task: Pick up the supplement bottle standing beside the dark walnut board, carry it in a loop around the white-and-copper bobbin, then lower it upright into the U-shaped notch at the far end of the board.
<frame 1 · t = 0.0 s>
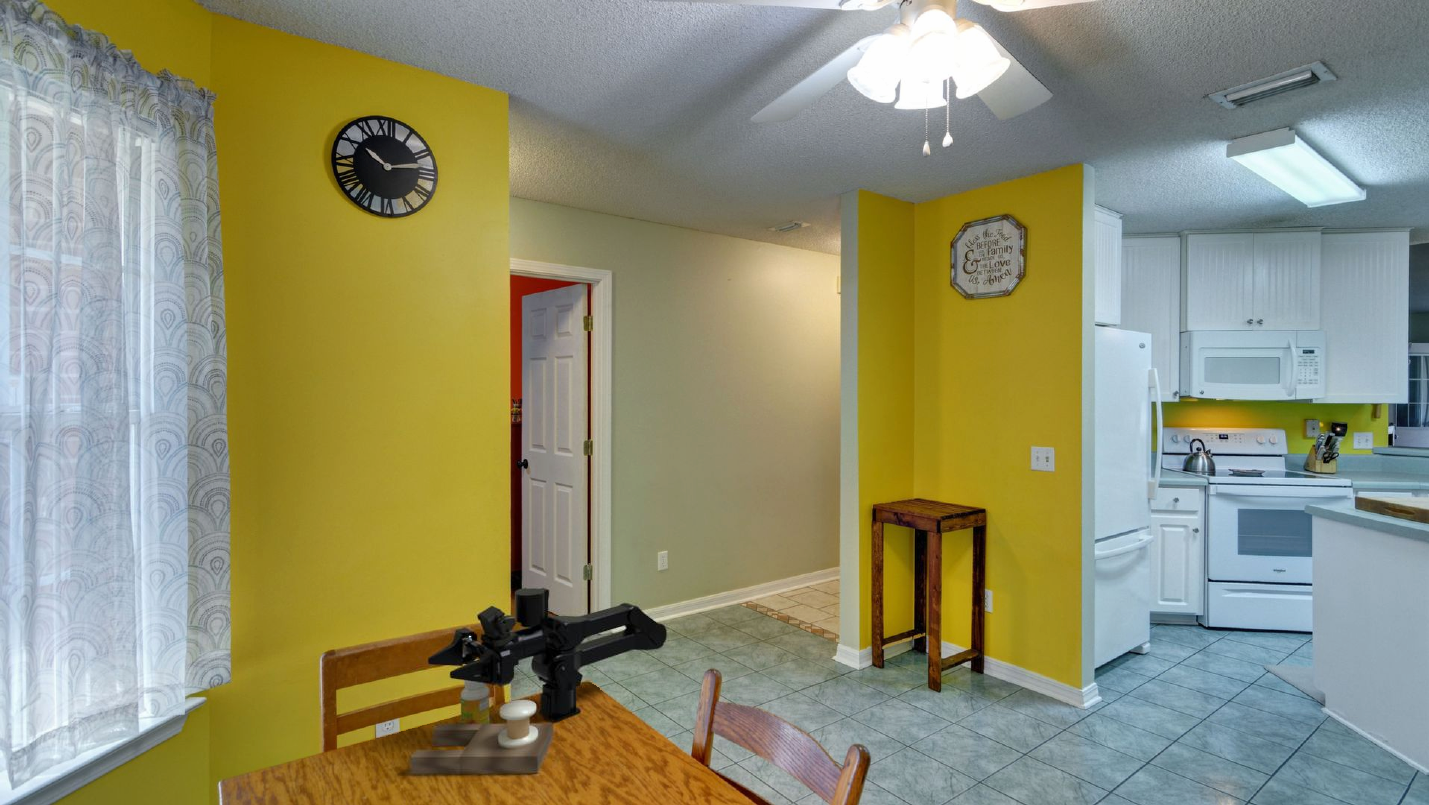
hand: (438, 668, 123), 17 cm above the table, tool horizontal, fingers open, 9 cm apart
supplement bottle: (475, 727, 136), on the table
notched board: (485, 756, 124), on the table
bobbin: (518, 739, 124), resting on notched board
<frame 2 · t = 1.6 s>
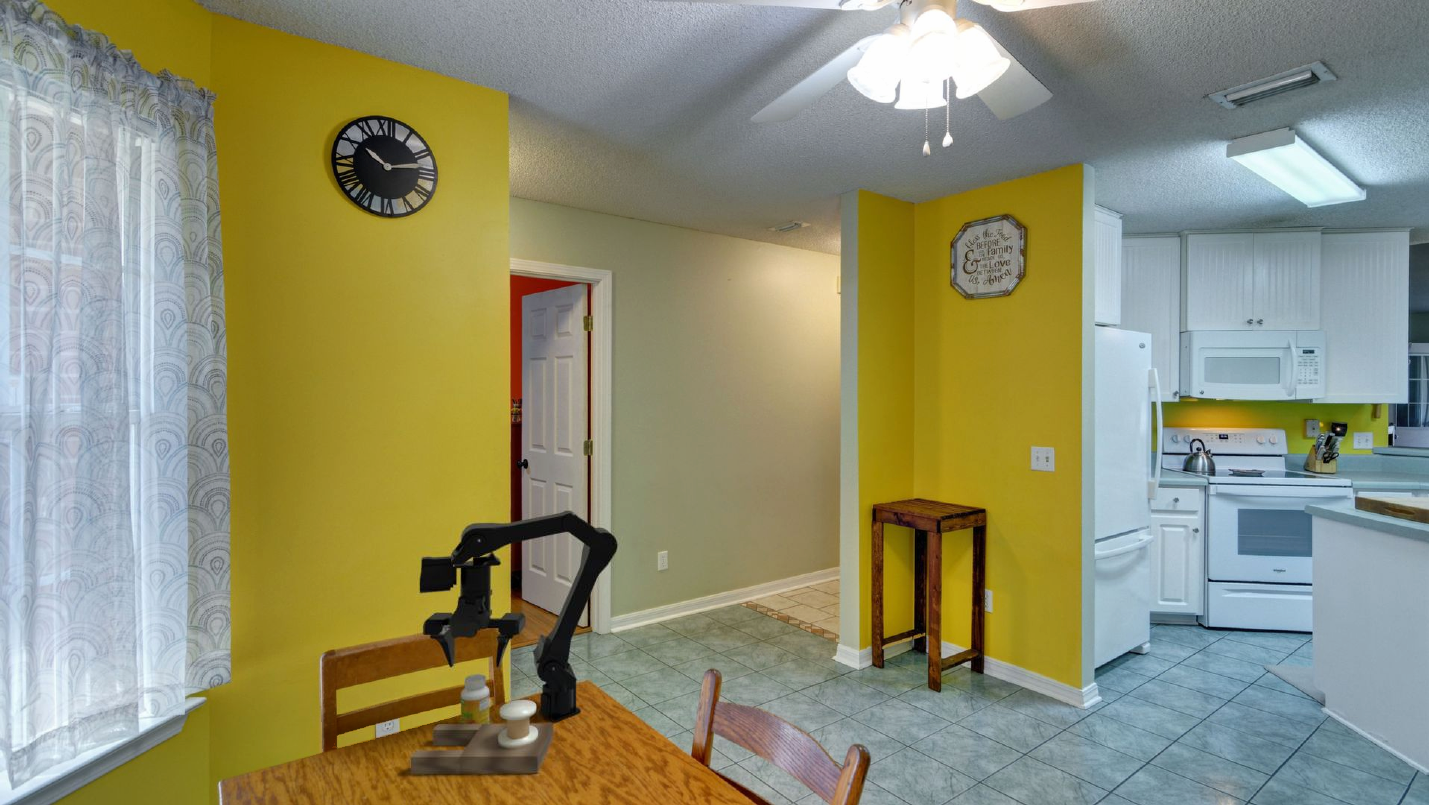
hand: (475, 666, 136), 12 cm above the table, tool pointing down, fingers open, 9 cm apart
nothing on the table moved.
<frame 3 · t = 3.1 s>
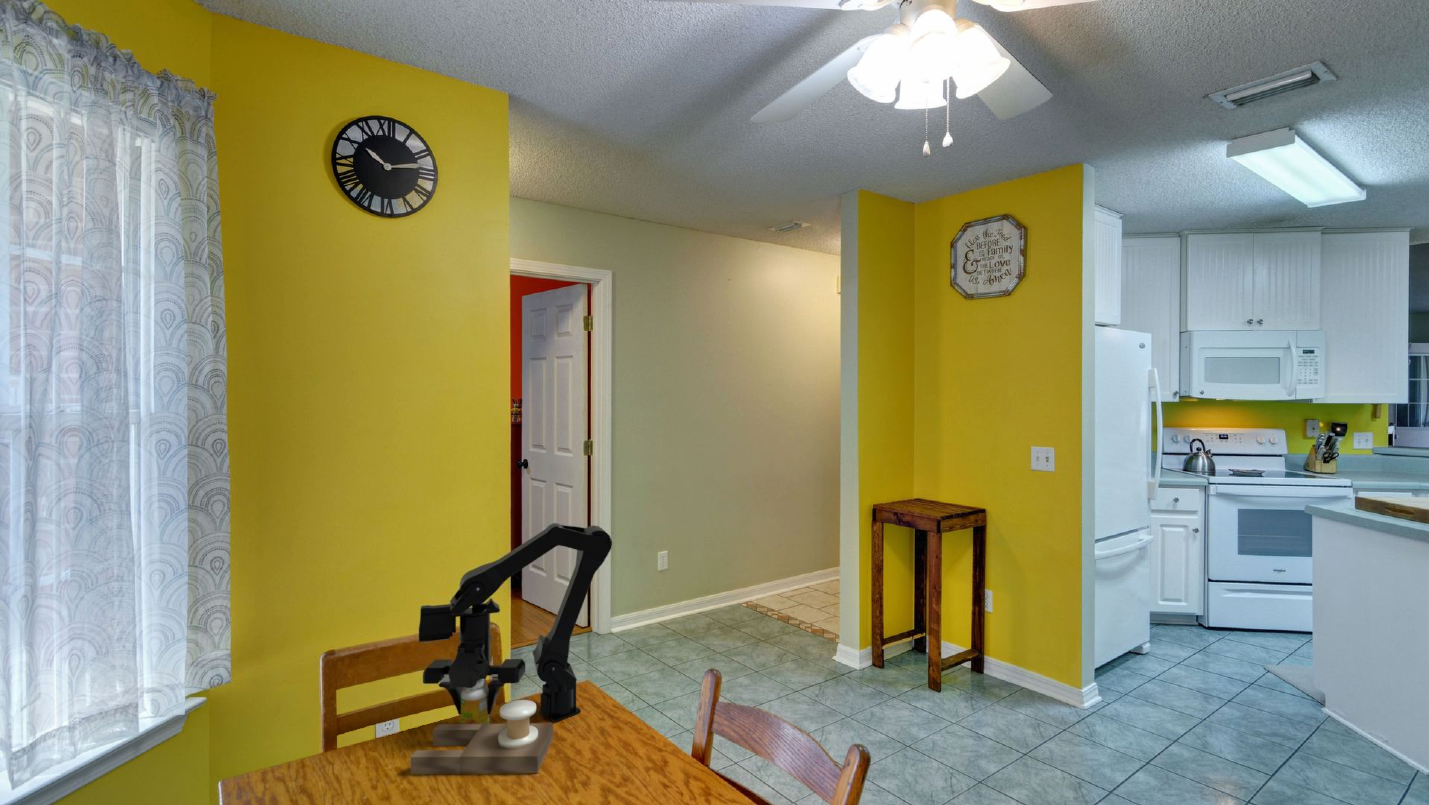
hand: (475, 713, 136), 3 cm above the table, tool pointing down, fingers closed on supplement bottle, 5 cm apart
supplement bottle: (475, 727, 136), on the table, touching gripper
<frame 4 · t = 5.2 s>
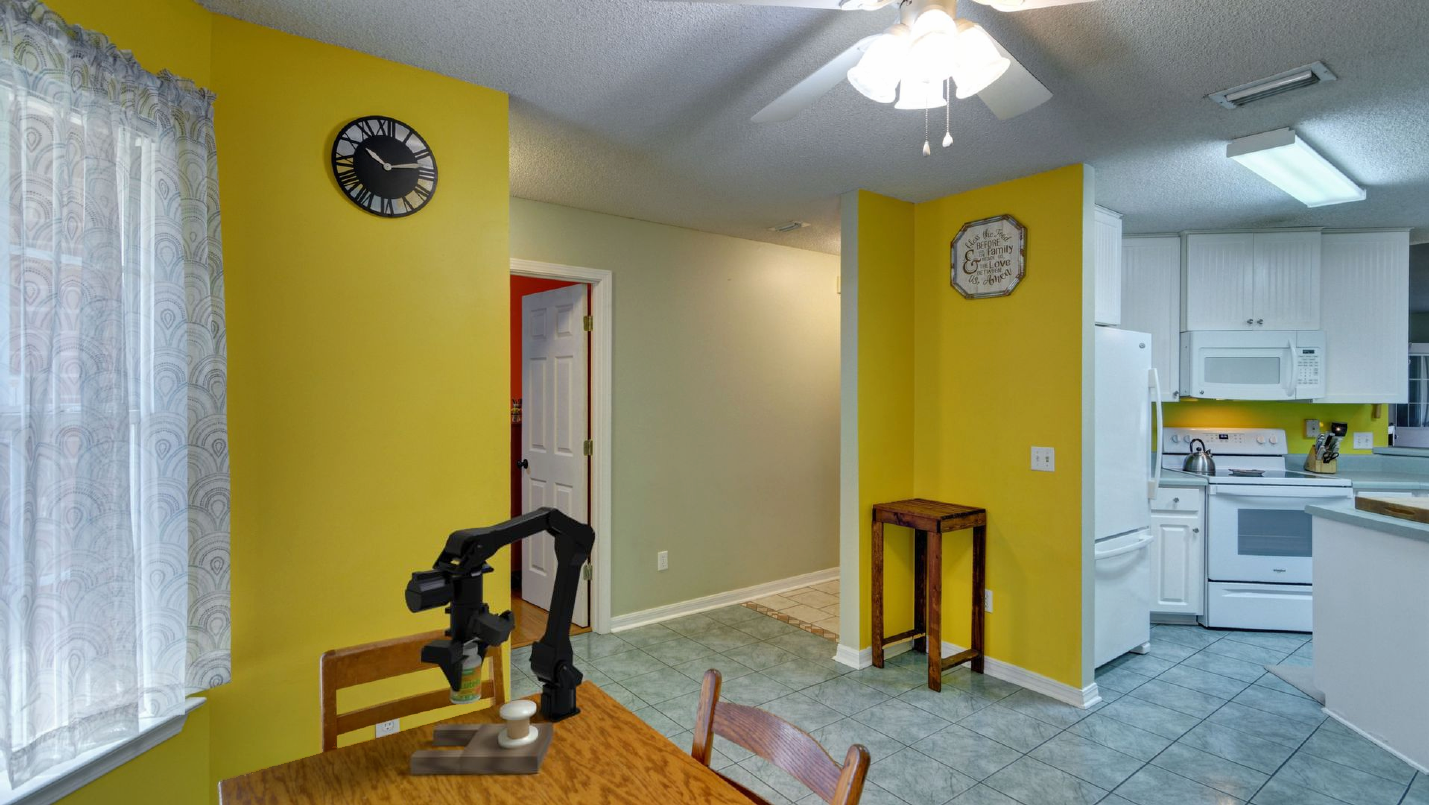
hand: (466, 685, 125), 13 cm above the table, tool pointing down, fingers closed on supplement bottle, 5 cm apart
supplement bottle: (465, 700, 125), point 10 cm above the table, touching gripper
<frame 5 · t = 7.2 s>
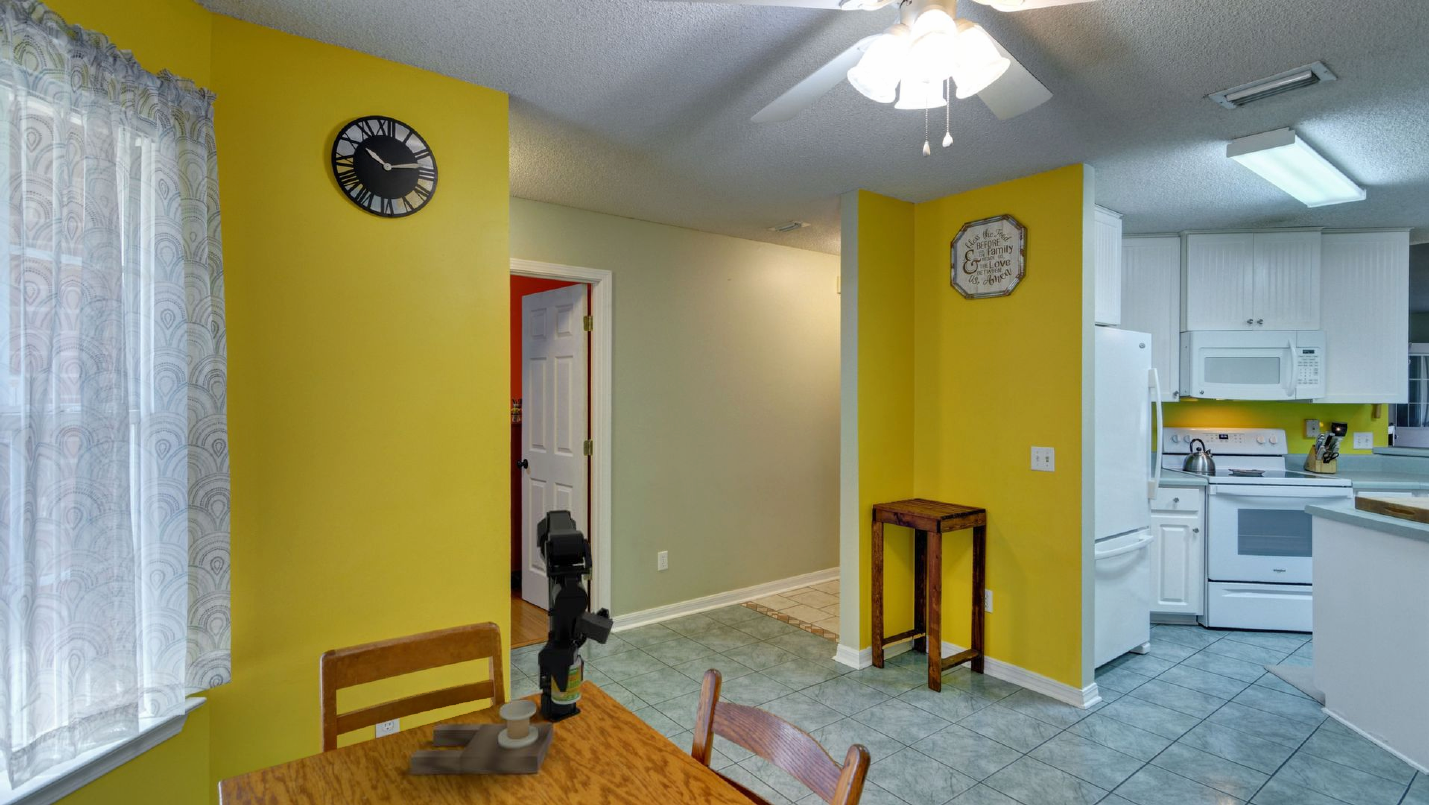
hand: (566, 685, 126), 12 cm above the table, tool pointing down, fingers closed on supplement bottle, 5 cm apart
supplement bottle: (566, 699, 126), point 10 cm above the table, touching gripper
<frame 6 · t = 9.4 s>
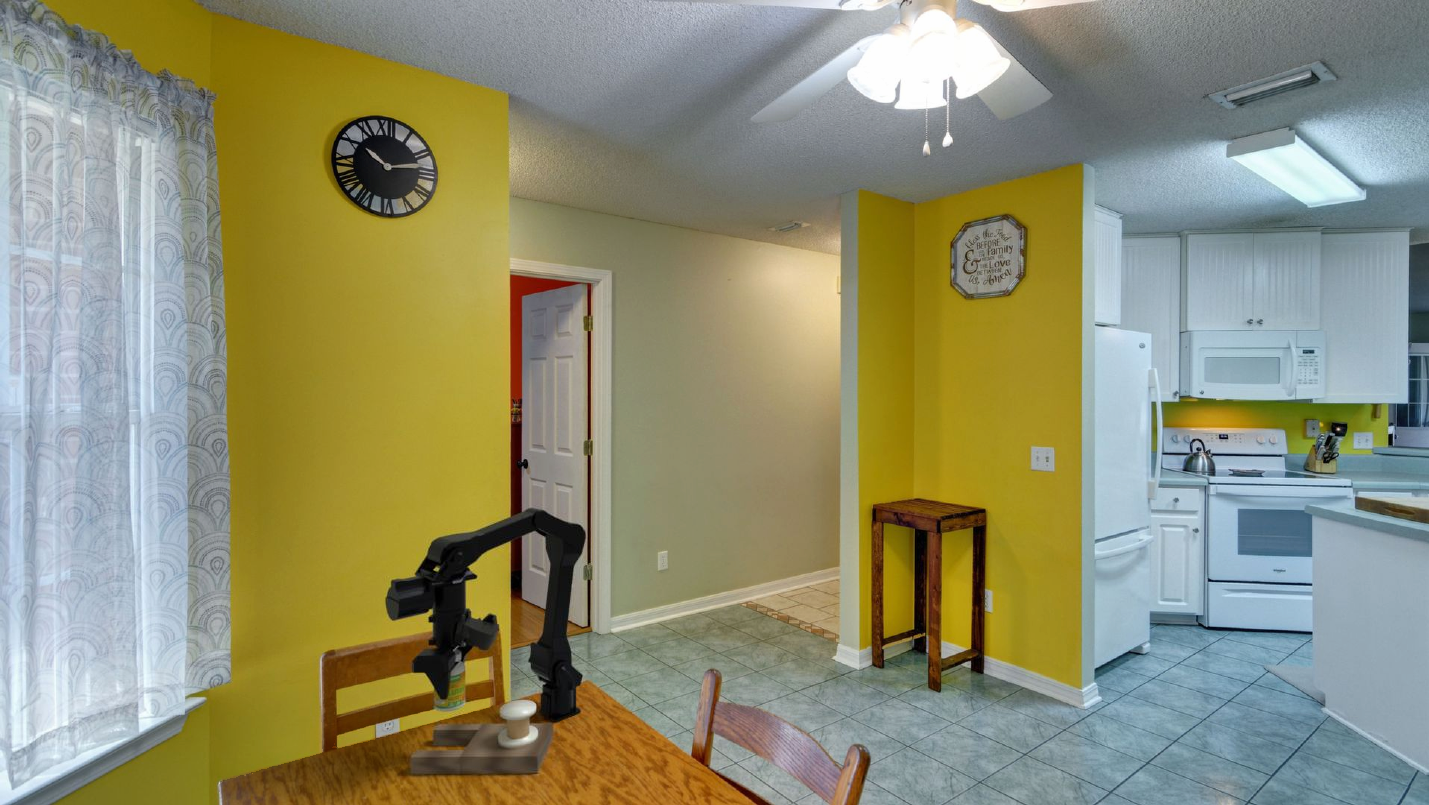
hand: (450, 692, 124), 12 cm above the table, tool pointing down, fingers closed on supplement bottle, 5 cm apart
supplement bottle: (449, 707, 124), point 9 cm above the table, touching gripper
when the fingers open (4 cm above the table, at t = 11.4 s): supplement bottle drops 1 cm, on the table.
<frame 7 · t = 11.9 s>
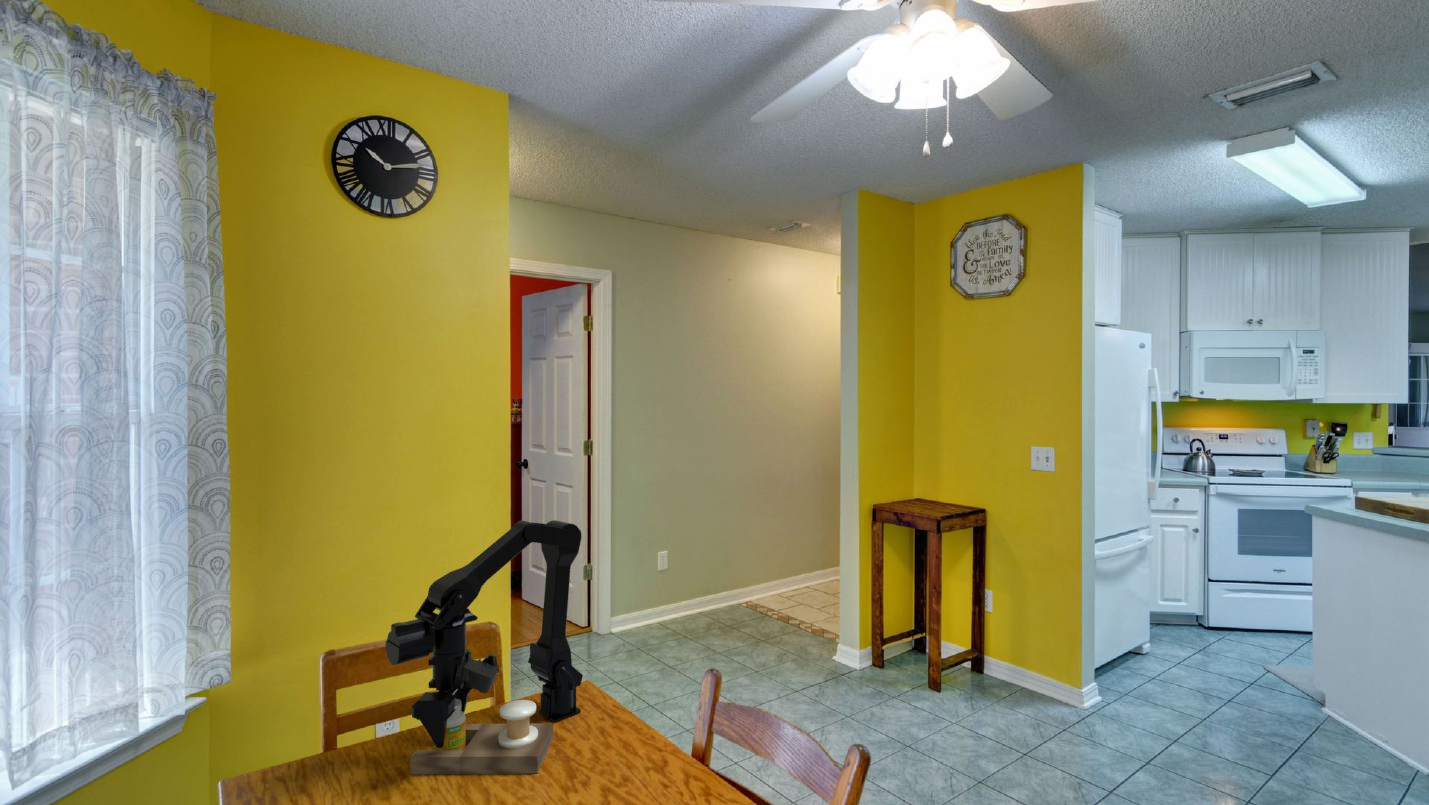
hand: (449, 734, 124), 4 cm above the table, tool pointing down, fingers open, 9 cm apart
supplement bottle: (449, 757, 124), on the table
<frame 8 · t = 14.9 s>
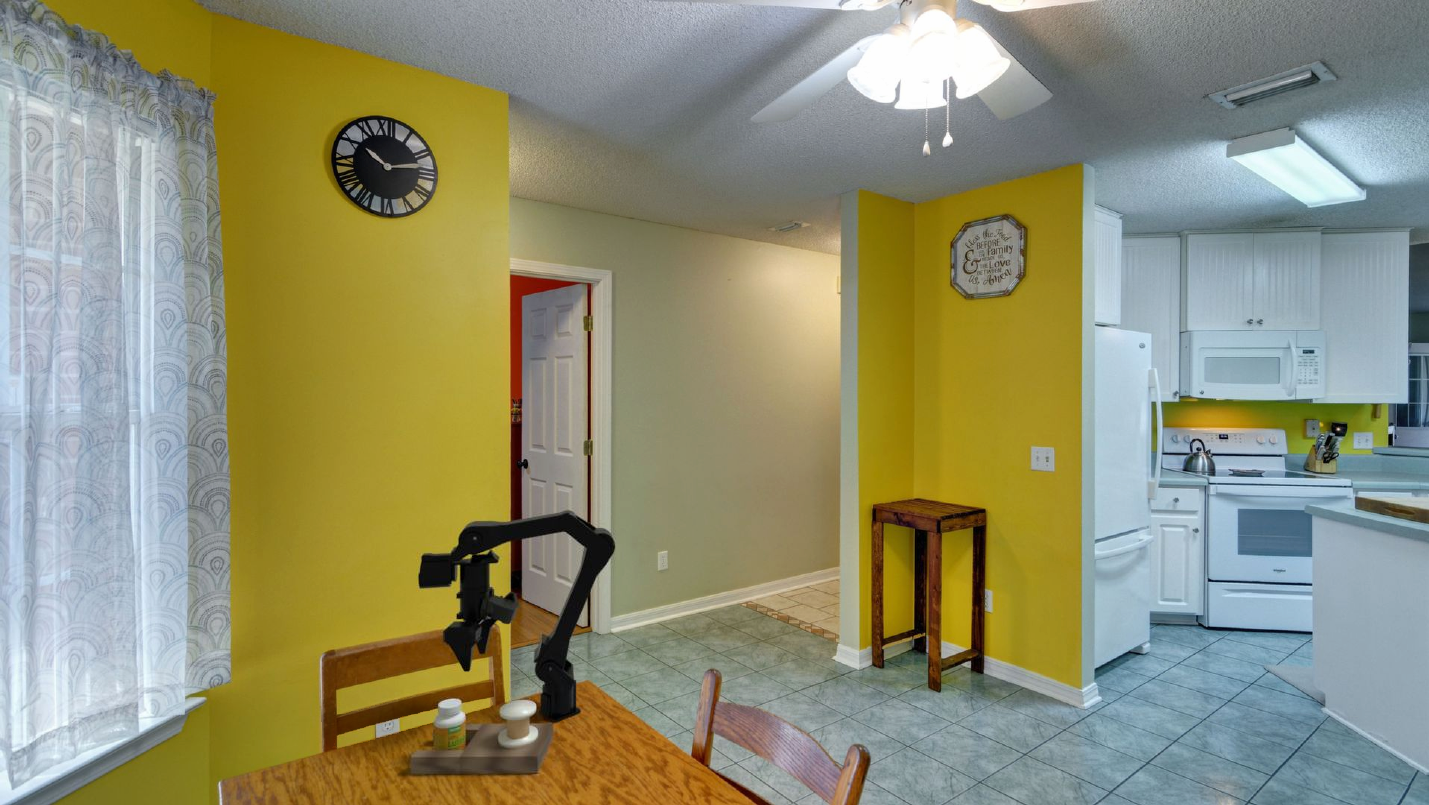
hand: (475, 662, 138), 12 cm above the table, tool pointing down, fingers open, 9 cm apart
nothing on the table moved.
at the end: supplement bottle 0.0 cm from the target spot, on the table; supplement bottle tilted 0°; the gripper is holding nothing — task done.
